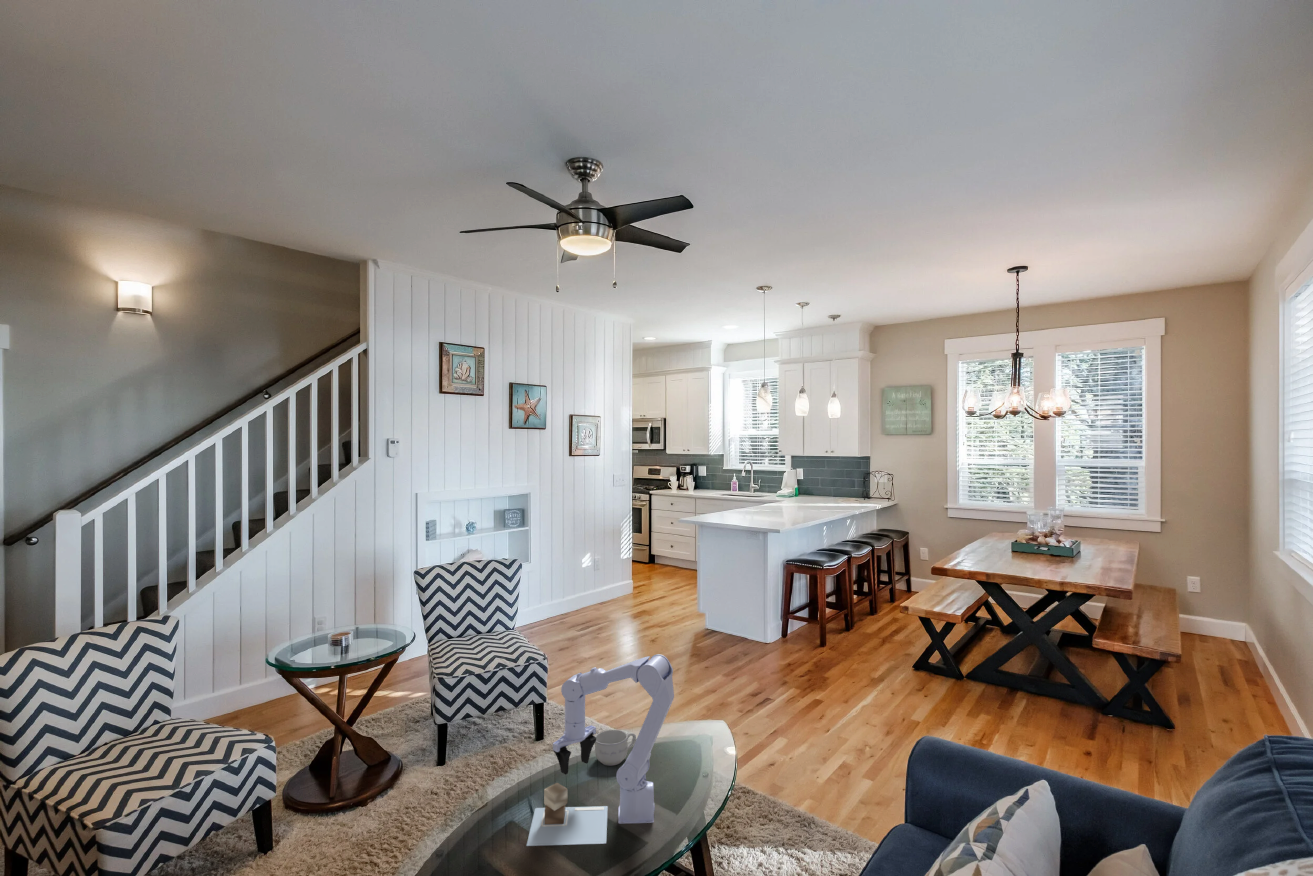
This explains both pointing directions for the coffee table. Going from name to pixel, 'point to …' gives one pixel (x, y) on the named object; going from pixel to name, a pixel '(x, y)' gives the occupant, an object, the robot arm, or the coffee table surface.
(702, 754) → the coffee table surface
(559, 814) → the walnut base
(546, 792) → the maple block
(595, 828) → the board
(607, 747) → the teacup
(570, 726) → the robot arm
